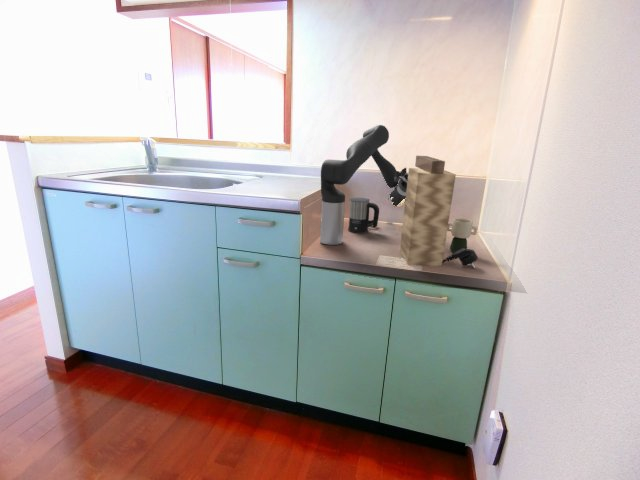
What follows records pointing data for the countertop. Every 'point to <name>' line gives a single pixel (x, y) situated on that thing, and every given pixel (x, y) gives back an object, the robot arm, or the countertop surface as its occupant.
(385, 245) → the countertop surface
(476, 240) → the countertop surface
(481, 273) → the countertop surface
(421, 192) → the stand
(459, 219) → the character mug
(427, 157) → the rod
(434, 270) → the countertop surface
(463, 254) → the power plug
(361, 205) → the milk frother
